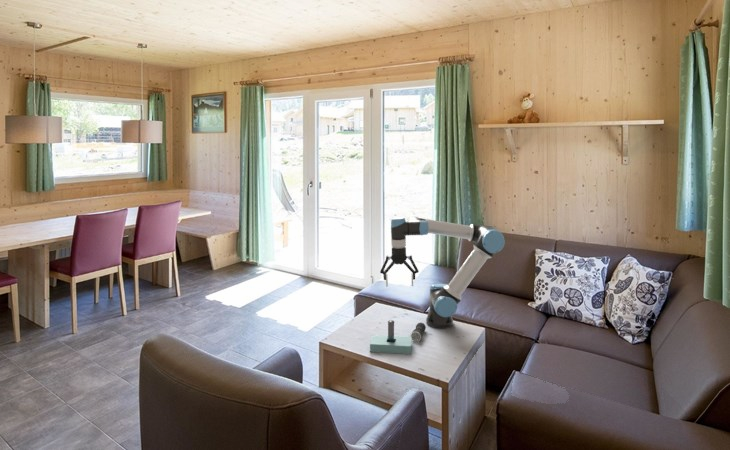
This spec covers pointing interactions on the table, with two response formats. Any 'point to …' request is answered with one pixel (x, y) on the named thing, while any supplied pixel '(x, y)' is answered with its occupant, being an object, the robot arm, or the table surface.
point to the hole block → (391, 344)
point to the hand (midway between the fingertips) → (399, 285)
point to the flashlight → (418, 332)
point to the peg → (391, 331)
